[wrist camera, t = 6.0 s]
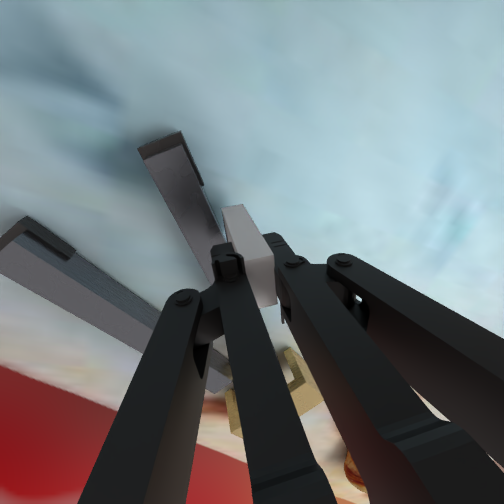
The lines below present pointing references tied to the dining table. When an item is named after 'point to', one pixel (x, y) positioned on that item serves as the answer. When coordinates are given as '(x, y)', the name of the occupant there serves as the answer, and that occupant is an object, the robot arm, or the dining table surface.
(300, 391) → the tan block
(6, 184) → the dining table surface
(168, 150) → the tongs arm
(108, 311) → the tongs fixed arm
